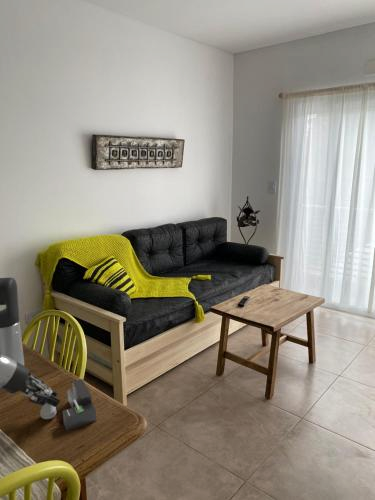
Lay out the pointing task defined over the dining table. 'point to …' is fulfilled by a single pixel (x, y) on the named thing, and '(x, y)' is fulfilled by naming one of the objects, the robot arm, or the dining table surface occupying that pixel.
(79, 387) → the gauge frame
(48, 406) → the rook chess piece
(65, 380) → the dining table surface
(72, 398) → the gauge plate
